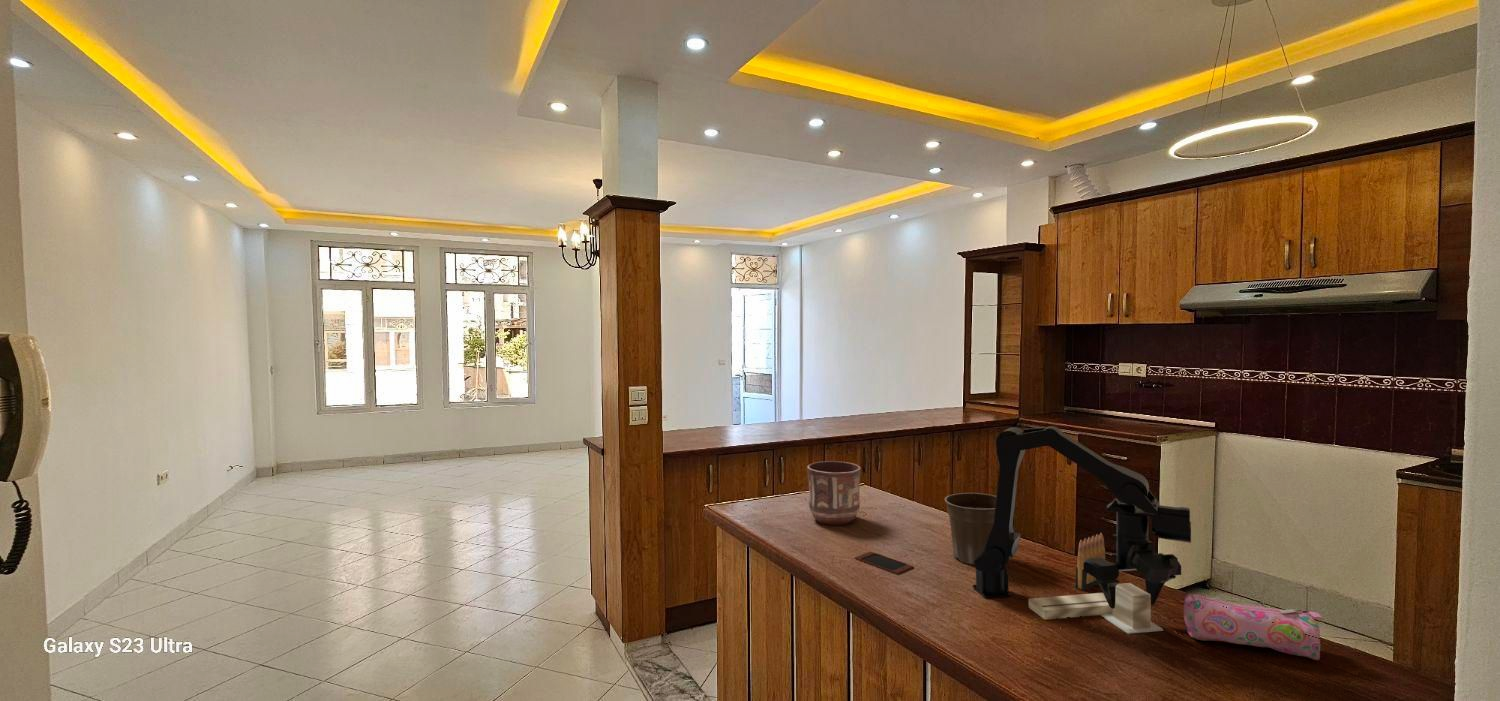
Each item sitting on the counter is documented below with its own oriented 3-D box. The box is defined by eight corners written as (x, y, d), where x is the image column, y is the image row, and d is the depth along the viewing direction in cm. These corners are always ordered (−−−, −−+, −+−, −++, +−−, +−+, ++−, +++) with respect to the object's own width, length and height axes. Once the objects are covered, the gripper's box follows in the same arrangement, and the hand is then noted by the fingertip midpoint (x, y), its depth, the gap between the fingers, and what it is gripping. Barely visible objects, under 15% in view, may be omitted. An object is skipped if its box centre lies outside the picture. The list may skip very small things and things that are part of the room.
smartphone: (897, 572, 161) (853, 557, 172) (897, 576, 161) (853, 560, 172) (914, 565, 165) (870, 550, 177) (914, 569, 165) (870, 554, 177)
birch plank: (1044, 619, 135) (1044, 610, 135) (1028, 607, 141) (1028, 598, 141) (1137, 611, 138) (1137, 602, 138) (1117, 600, 144) (1117, 591, 144)
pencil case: (1310, 646, 122) (1311, 601, 122) (1330, 670, 114) (1331, 621, 114) (1180, 626, 132) (1180, 584, 131) (1189, 646, 123) (1189, 601, 123)
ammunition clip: (1082, 591, 149) (1082, 541, 149) (1075, 588, 151) (1075, 539, 150) (1107, 580, 155) (1107, 532, 155) (1099, 578, 157) (1099, 530, 156)
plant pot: (942, 565, 167) (942, 505, 166) (947, 545, 182) (947, 490, 181) (1008, 573, 161) (1008, 511, 160) (1008, 551, 176) (1007, 495, 175)
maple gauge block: (1132, 629, 130) (1133, 596, 129) (1112, 615, 136) (1112, 584, 135) (1150, 627, 130) (1150, 594, 130) (1129, 614, 136) (1129, 582, 136)
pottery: (805, 527, 200) (804, 471, 199) (809, 511, 217) (808, 460, 217) (861, 530, 197) (861, 473, 196) (860, 513, 214) (860, 461, 214)
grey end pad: (1127, 633, 128) (1127, 632, 128) (1101, 615, 136) (1101, 614, 136) (1163, 630, 129) (1163, 629, 129) (1134, 613, 137) (1134, 611, 137)
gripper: (1119, 549, 123) (1118, 627, 124) (1204, 543, 125) (1203, 620, 126) (1081, 531, 134) (1081, 603, 135) (1160, 526, 136) (1160, 596, 137)
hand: (1131, 606), depth 133 cm, fingers open, 9 cm apart
